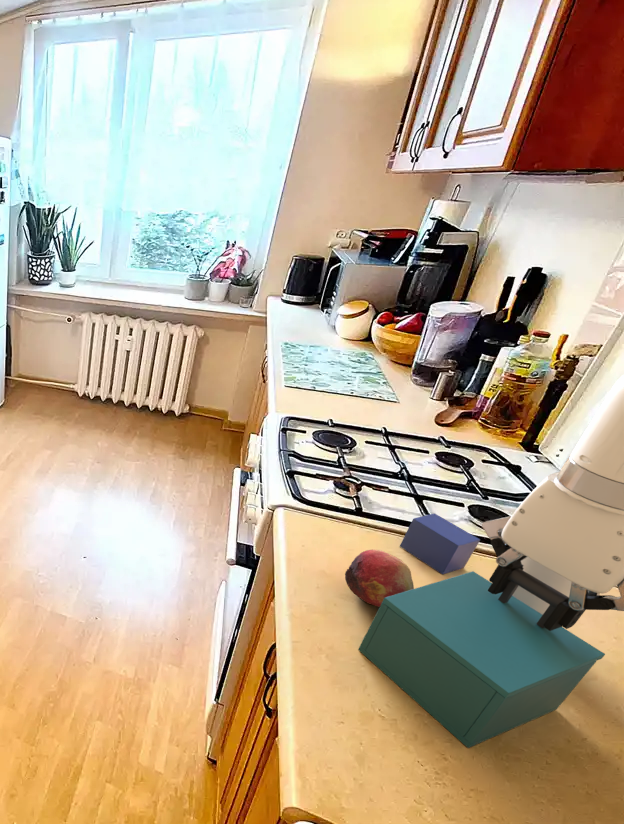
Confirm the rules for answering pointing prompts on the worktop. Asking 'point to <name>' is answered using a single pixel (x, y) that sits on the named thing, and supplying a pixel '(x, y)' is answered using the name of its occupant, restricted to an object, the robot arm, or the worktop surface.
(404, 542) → the blue rectangular block
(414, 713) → the worktop surface
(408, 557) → the worktop surface
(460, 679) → the teal box base
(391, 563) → the fruit
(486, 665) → the teal box lid
